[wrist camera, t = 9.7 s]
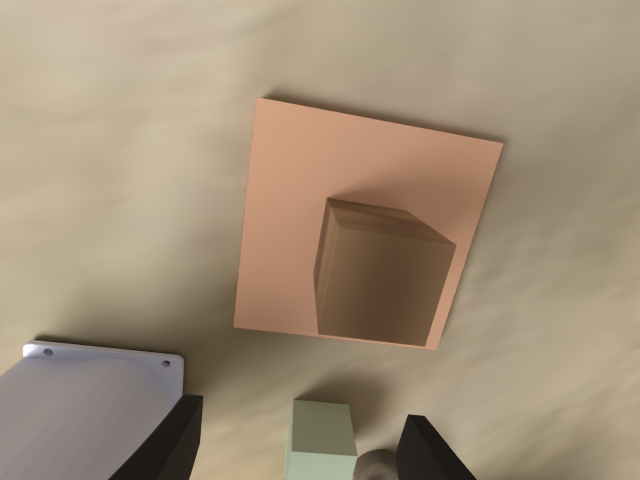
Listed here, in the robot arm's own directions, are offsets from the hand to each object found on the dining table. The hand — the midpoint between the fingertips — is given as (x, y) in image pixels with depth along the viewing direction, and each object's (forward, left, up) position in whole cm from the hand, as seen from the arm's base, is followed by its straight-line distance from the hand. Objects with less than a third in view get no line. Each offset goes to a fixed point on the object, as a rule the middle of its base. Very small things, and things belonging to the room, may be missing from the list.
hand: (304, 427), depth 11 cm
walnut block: (+2, +4, -8) cm, 10 cm away
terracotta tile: (+2, +4, -9) cm, 11 cm away
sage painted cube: (+2, -10, -10) cm, 14 cm away
